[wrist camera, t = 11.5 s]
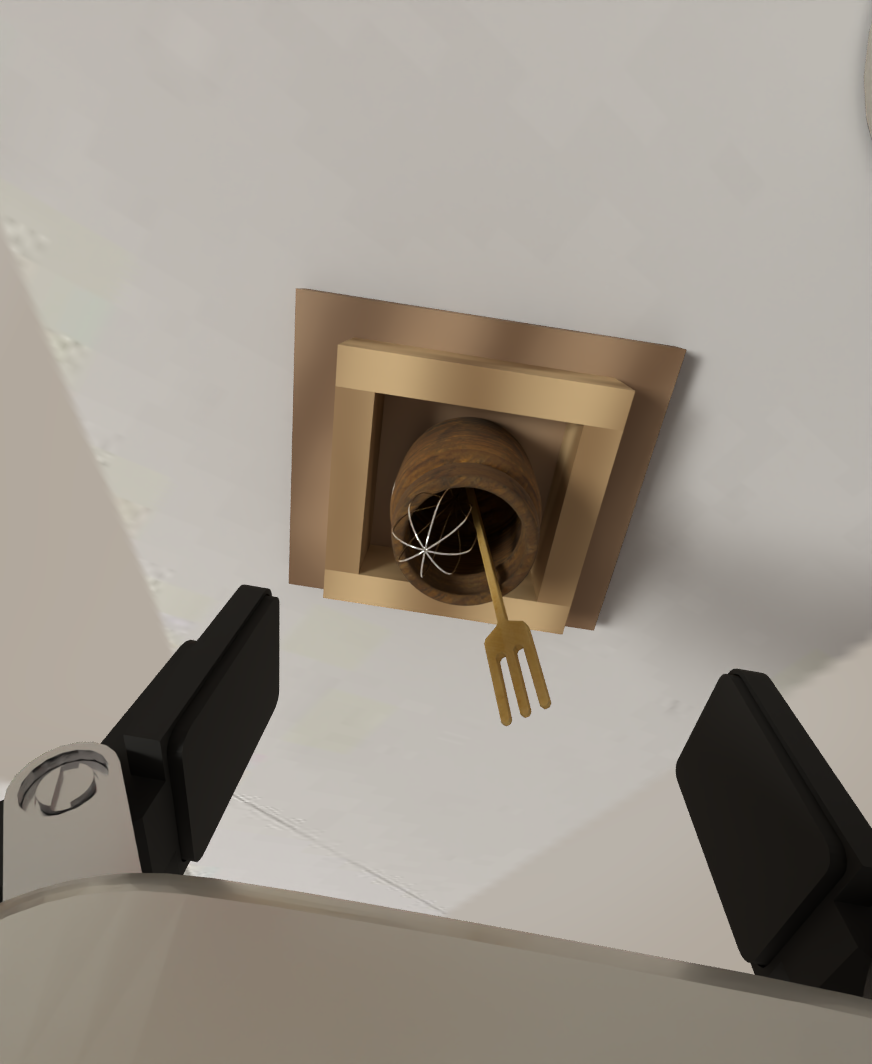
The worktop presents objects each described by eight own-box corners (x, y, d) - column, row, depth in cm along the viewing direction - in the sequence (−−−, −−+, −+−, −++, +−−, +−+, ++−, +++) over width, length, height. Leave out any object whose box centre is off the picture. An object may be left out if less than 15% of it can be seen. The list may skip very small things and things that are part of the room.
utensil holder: (486, 384, 22) (502, 479, 12) (557, 500, 24) (628, 673, 14) (375, 457, 24) (298, 600, 13) (451, 560, 26) (438, 757, 15)
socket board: (676, 346, 22) (717, 358, 19) (589, 617, 28) (607, 668, 25) (304, 288, 22) (269, 289, 19) (295, 572, 28) (268, 616, 25)
